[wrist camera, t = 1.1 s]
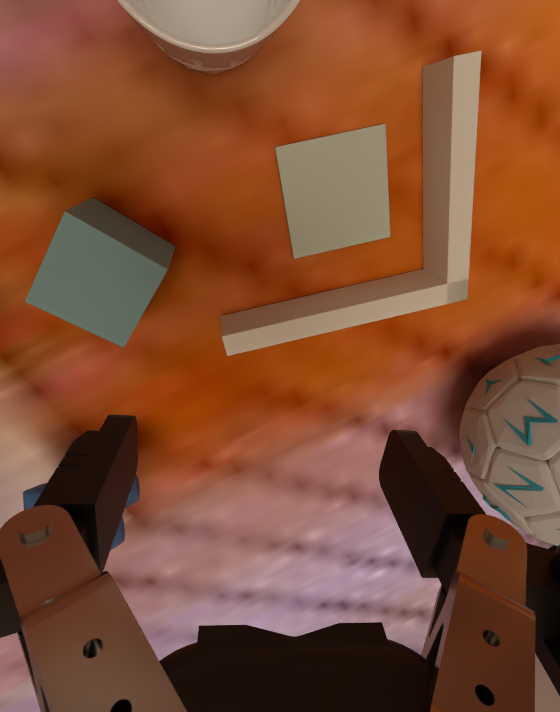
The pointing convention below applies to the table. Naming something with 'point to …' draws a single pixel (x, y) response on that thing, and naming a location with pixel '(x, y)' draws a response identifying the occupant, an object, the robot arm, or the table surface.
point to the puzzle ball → (518, 440)
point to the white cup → (209, 28)
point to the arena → (375, 215)
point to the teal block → (100, 271)
